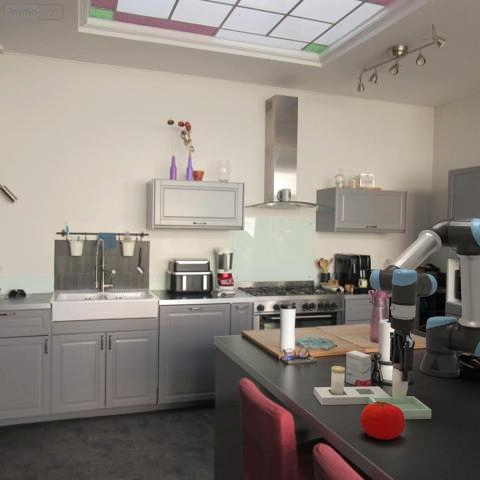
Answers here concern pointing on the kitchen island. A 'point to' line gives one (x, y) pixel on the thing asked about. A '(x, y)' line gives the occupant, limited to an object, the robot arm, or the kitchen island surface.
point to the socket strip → (345, 391)
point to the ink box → (358, 369)
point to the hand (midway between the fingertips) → (399, 387)
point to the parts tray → (407, 406)
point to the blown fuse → (397, 384)
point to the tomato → (382, 420)
